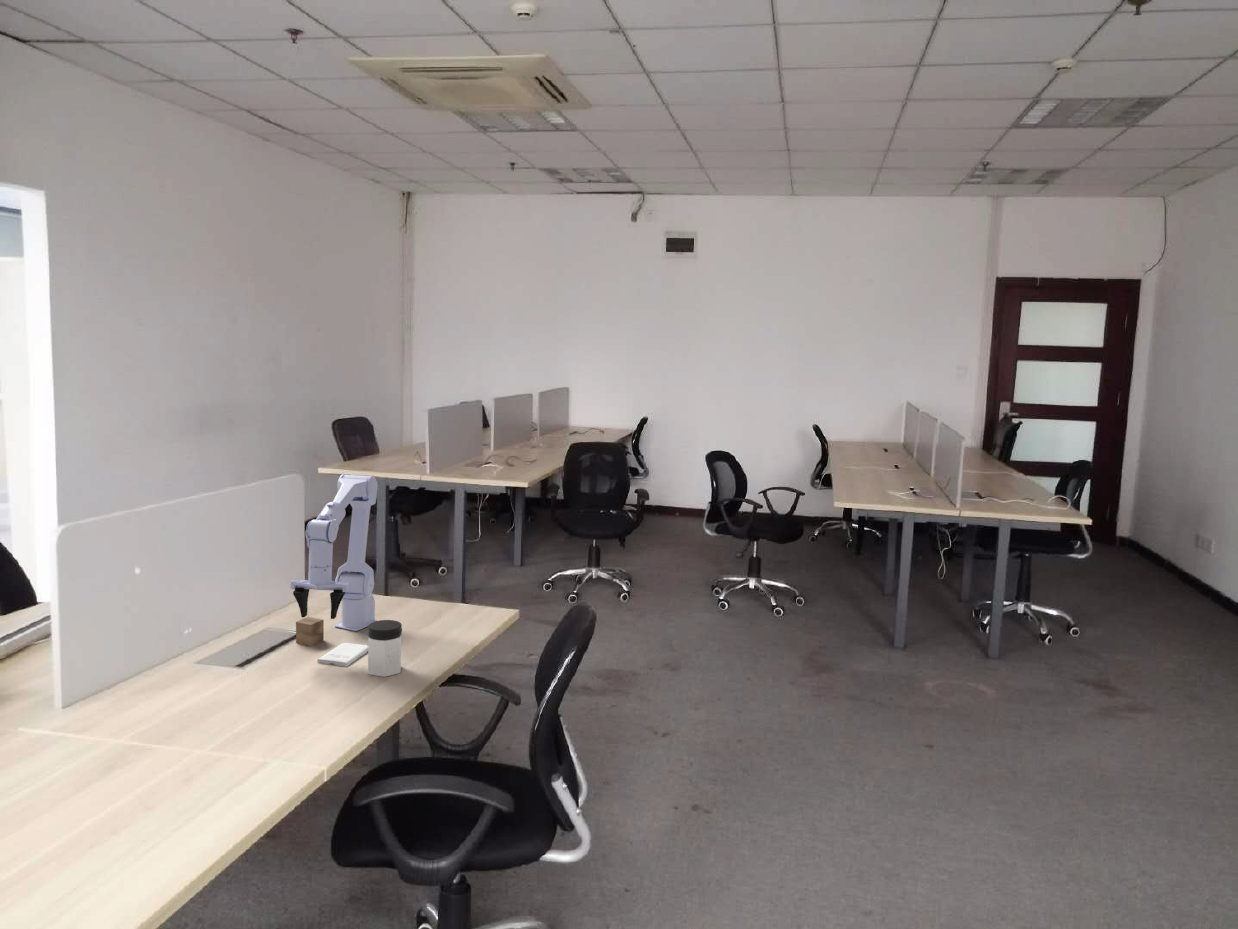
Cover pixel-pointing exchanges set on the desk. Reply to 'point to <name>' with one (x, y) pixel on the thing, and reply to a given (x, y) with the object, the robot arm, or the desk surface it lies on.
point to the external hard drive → (344, 654)
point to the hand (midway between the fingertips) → (318, 617)
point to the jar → (384, 648)
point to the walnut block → (309, 631)
